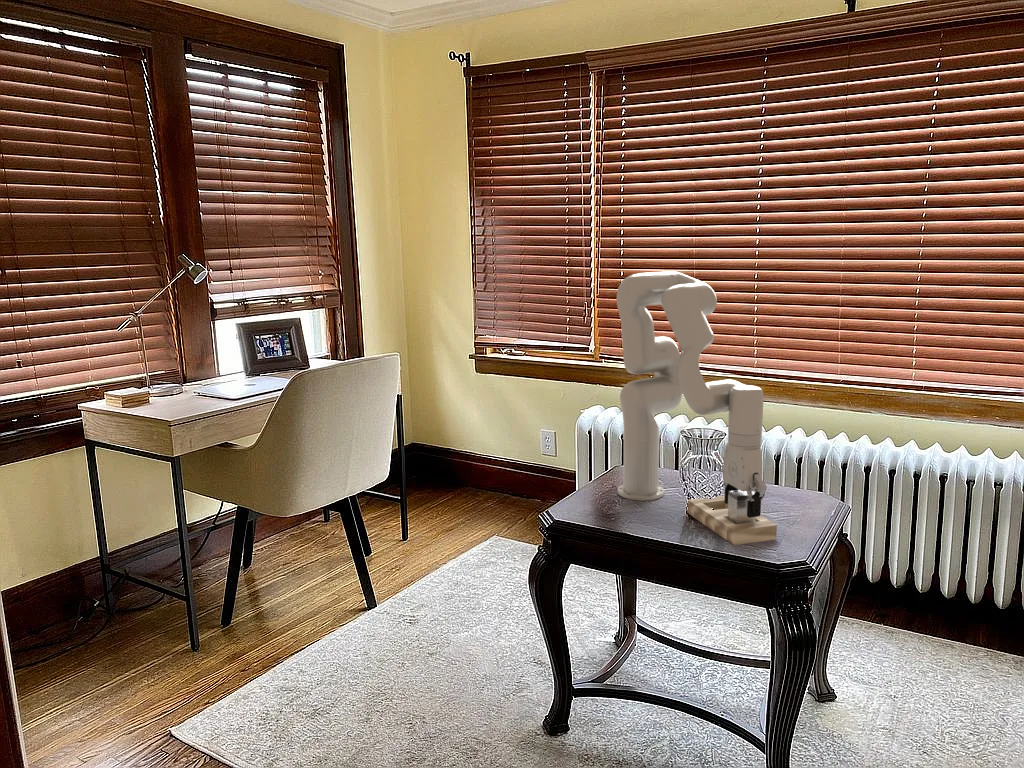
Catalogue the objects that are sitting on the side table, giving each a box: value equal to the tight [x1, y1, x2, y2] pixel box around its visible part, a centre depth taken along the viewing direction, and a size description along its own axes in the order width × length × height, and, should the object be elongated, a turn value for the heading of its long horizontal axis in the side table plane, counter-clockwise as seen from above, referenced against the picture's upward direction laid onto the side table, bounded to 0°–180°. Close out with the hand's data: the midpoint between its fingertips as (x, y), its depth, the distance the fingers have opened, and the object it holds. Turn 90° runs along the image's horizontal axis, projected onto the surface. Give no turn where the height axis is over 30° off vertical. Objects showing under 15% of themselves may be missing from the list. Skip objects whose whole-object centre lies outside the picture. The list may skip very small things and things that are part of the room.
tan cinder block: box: [687, 494, 778, 546], centre depth 193 cm, size 22×11×4 cm, turn 16°
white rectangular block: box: [727, 489, 756, 524], centre depth 188 cm, size 4×5×10 cm
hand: (741, 509), depth 188 cm, fingers open, 9 cm apart
